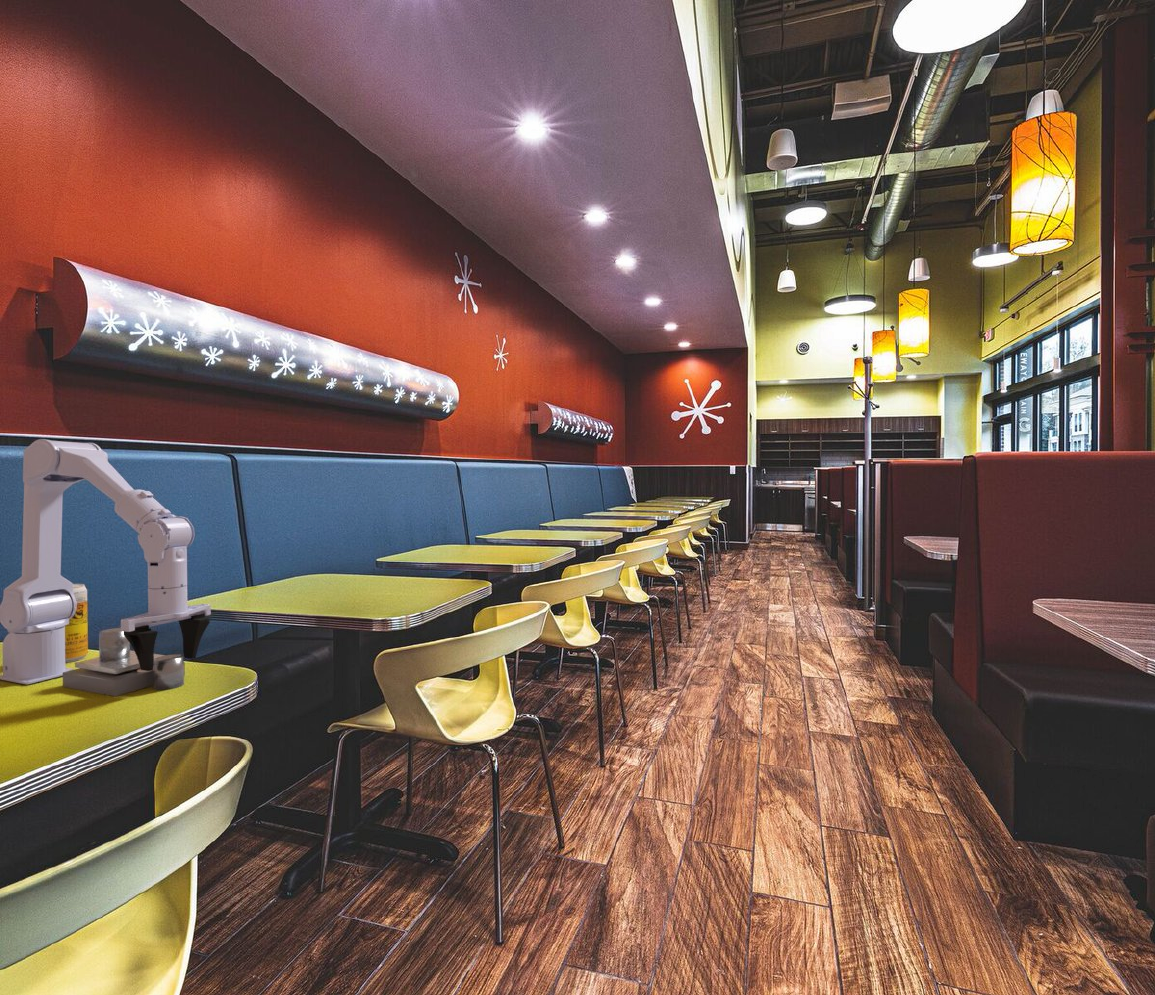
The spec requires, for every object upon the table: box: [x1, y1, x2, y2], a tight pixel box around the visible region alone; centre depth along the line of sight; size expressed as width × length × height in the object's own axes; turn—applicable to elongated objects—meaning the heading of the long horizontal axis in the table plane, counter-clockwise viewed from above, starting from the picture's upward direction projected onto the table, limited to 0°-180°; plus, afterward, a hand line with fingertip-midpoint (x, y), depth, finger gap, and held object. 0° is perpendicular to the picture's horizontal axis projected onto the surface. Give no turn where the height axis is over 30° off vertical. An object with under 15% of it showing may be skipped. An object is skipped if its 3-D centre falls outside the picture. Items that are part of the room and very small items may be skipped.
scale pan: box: [74, 649, 165, 674], centre depth 109 cm, size 11×9×1 cm
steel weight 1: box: [98, 627, 131, 662], centre depth 110 cm, size 4×4×5 cm
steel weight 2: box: [153, 654, 185, 691], centre depth 106 cm, size 4×4×5 cm
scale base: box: [62, 662, 186, 697], centre depth 109 cm, size 14×12×3 cm
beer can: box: [65, 583, 89, 664], centre depth 123 cm, size 6×6×15 cm
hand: (169, 663), depth 106 cm, fingers open, 7 cm apart
